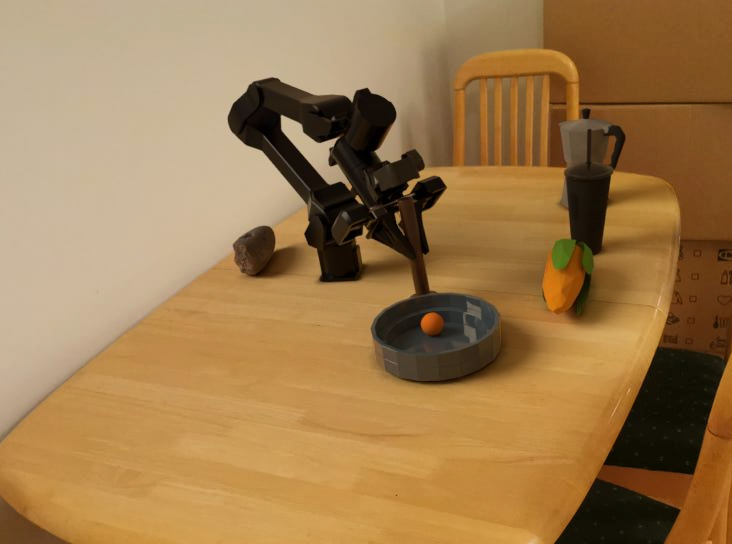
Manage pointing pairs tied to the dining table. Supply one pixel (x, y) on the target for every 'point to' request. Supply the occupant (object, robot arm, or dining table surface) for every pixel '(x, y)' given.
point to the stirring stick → (414, 246)
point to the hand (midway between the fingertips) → (421, 256)
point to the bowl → (436, 337)
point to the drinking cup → (588, 199)
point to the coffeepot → (577, 142)
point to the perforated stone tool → (254, 249)
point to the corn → (567, 275)
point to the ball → (432, 324)
